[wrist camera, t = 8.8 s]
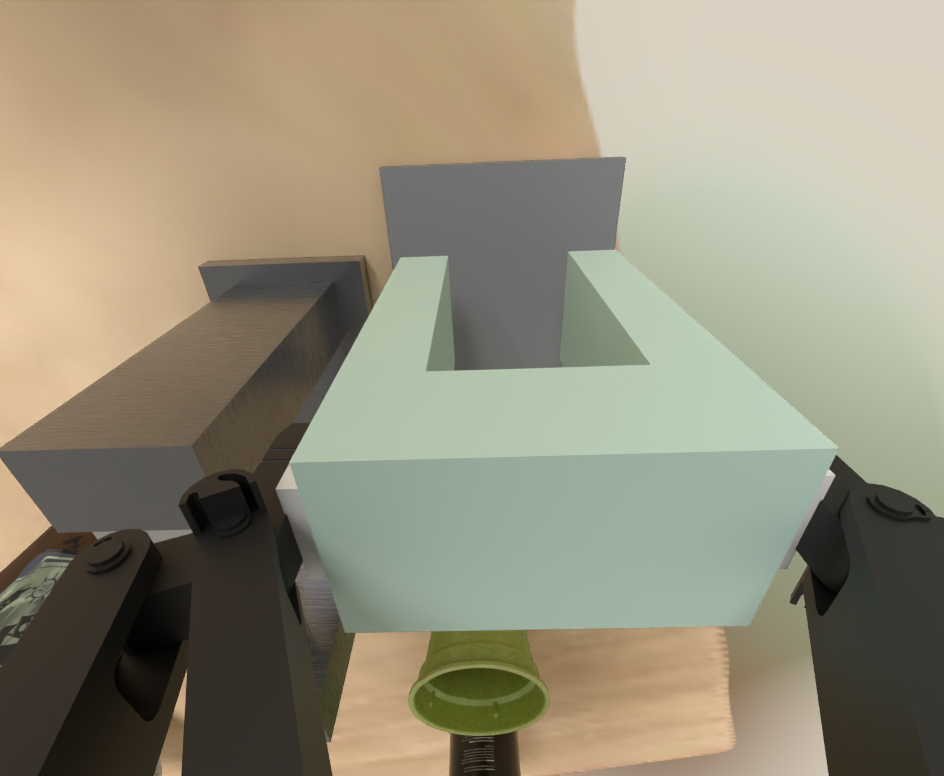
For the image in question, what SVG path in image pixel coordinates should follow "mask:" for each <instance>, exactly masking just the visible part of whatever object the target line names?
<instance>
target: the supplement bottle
mask: <svg viewBox="0 0 944 776" xmlns="http://www.w3.org/2000/svg"><path fill="white" fill-rule="evenodd" d="M449 776H521V772H520V760H519V748H518V735H517V730H516V731H513V732H509V733H504V734H498V735H487V736H471V735H460V734H454V733H450V765H449Z"/></svg>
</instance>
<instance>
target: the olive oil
mask: <svg viewBox="0 0 944 776" xmlns="http://www.w3.org/2000/svg"><path fill="white" fill-rule="evenodd" d="M96 540H98V539H97V538H96V537H95V535H94V534H93V532H70V533H58V532H57V531H56V530H55V528H54V527H53V526H51V527H50V528H49V529H48V530H46V531H45V532H44V533H43V534H42V535H41V536H40V537H39V538H38V539H37V540H36V541H34V542H33V543H32V544H31V545H30V546H29V547H28V548H27V549H26V550H25V551H23V552H22V553H21V554H20V555H19V556H18V557H17V558H16V559H15V560H14V561H13V562H11V563H10V564H9V565H8V566H7V567H6V568H5V569H4V570H3V571H2V572H0V668H1V666H2V665H3V663H4V662H5V660H6V659H7V657H8V656H9V654H10V653H11V651H12V650H13V648H14V647H15V645H16V644H17V642H18V641H19V639H20V637H21V636H22V634H23V633H24V631H25V630H26V628H27V627H28V625H29V624H30V622H31V621H32V619H33V618H34V616H35V615H36V613H37V612H38V610H39V608H40V607H41V605H42V604H43V602H44V601H45V599H46V598H47V596H48V595H49V593H50V592H51V590H52V589H53V587H54V586H55V584H56V583H57V581H58V579H59V578H60V576H61V575H62V573H63V572H64V570H65V569H66V567H67V566H68V564H69V563H70V562H71V561H72V560H73V559H74V557H75V556H76V555H77V554H78V553H79V552H80V551H82V550H83V549H84V548H86V547H87V546H88V545H90V544H91V543H92V542H94V541H96Z"/></svg>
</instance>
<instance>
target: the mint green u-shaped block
mask: <svg viewBox="0 0 944 776" xmlns="http://www.w3.org/2000/svg"><path fill="white" fill-rule="evenodd" d="M560 360H561V363H562V366H563V367H559V368H526V369H493V370H460V371H454V366H455V356H454V341H453V325H452V309H451V294H450V278H449V262H448V256H426V257H401V258H400V259H399V261H398V263H397V265H396V267H395V269H394V270H393V272H392V274H391V276H390V278H389V280H388V281H387V283H386V285H385V287H384V289H383V291H382V293H381V294H380V296H379V298H378V300H377V302H376V304H375V305H374V307H373V309H372V311H371V313H370V315H369V316H368V318H367V320H366V322H365V324H364V326H363V327H362V329H361V331H360V333H359V335H358V337H357V339H356V340H355V342H354V344H353V346H352V348H351V350H350V351H349V353H348V355H347V357H346V359H345V361H344V362H343V364H342V366H341V368H340V370H339V372H338V374H337V375H336V377H335V379H334V381H333V383H332V385H331V386H330V388H329V390H328V392H327V394H326V396H325V397H324V399H323V401H322V403H321V405H320V407H319V409H318V410H317V412H316V414H315V416H314V418H313V420H312V421H311V423H310V425H309V427H308V429H307V431H306V432H305V434H304V436H303V438H302V440H301V442H300V444H299V445H298V447H297V449H296V451H295V453H294V455H293V456H292V458H291V460H290V462H289V464H290V467H291V470H292V473H293V476H294V479H295V482H296V485H297V488H298V491H299V494H300V497H301V500H302V503H303V506H304V510H305V513H306V516H307V519H308V522H309V525H310V528H311V531H312V534H313V537H314V540H315V543H316V546H317V549H318V552H319V555H320V558H321V561H322V564H323V567H324V570H325V573H326V577H327V580H328V583H329V586H330V589H331V592H332V595H333V598H334V601H335V604H336V607H337V610H338V613H339V616H340V619H341V622H342V625H343V628H344V631H345V633H367V632H424V631H481V630H538V629H595V628H653V627H710V626H750V624H751V622H752V620H753V618H754V616H755V614H756V612H757V610H758V608H759V606H760V604H761V602H762V600H763V598H764V596H765V594H766V592H767V590H768V588H769V586H770V584H771V582H772V580H773V578H774V576H775V574H776V573H777V570H778V569H779V567H780V565H781V563H782V561H783V559H784V557H785V555H786V553H787V551H788V549H789V547H790V545H791V543H792V541H793V539H794V537H795V535H796V533H797V531H798V529H799V527H800V525H801V523H802V521H803V519H804V517H805V515H806V513H807V511H808V509H809V507H810V505H811V503H812V501H813V499H814V497H815V495H816V493H817V491H818V489H819V487H820V485H821V483H822V481H823V480H824V478H825V476H826V474H827V472H828V470H829V468H830V466H831V464H832V462H833V460H834V458H835V456H836V454H837V452H838V450H839V448H838V447H837V446H836V445H835V444H834V443H833V442H831V441H830V440H829V439H828V438H827V437H826V436H825V435H824V434H823V433H821V432H820V431H819V430H818V429H817V428H816V427H815V426H814V425H812V424H811V423H810V422H809V421H808V420H807V419H806V418H805V417H803V416H802V415H801V414H800V413H799V412H798V411H797V410H795V408H793V407H792V406H791V405H790V404H789V403H788V402H787V401H785V400H784V399H783V398H782V397H781V396H780V395H779V394H778V393H776V392H775V391H774V390H773V389H772V388H771V387H770V386H769V385H768V384H766V383H765V382H764V381H763V380H762V379H761V378H760V377H759V376H757V375H756V374H755V373H754V372H753V371H752V370H751V369H750V368H749V367H747V366H746V365H745V364H744V363H743V362H742V361H741V360H740V359H738V358H737V357H736V356H735V355H734V354H733V353H732V352H730V351H729V350H728V349H727V348H726V347H725V346H724V345H723V344H722V343H720V342H719V341H718V340H717V339H716V338H715V337H714V336H713V335H711V334H710V333H709V332H708V331H707V330H706V329H705V328H704V327H702V326H701V325H700V324H699V323H698V322H697V321H696V320H694V318H692V317H691V316H690V315H689V314H688V313H687V312H686V311H685V310H683V309H682V308H681V307H680V306H679V305H678V304H677V303H676V302H674V301H673V300H672V299H671V298H670V297H669V296H668V295H667V294H665V293H664V292H663V291H662V290H661V289H660V288H659V287H658V286H656V285H655V284H654V283H653V282H652V281H651V280H650V279H649V278H647V277H646V276H645V275H644V274H643V273H642V272H641V271H639V269H637V268H636V267H635V266H634V265H633V264H632V263H630V262H629V261H628V260H627V259H626V258H625V257H624V256H623V255H622V254H621V253H619V252H618V251H617V250H592V251H568V257H567V270H566V283H565V296H564V310H563V323H562V336H561V350H560Z"/></svg>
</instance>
